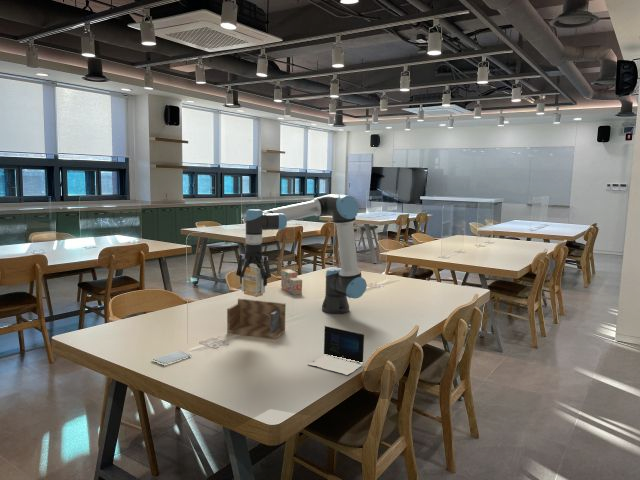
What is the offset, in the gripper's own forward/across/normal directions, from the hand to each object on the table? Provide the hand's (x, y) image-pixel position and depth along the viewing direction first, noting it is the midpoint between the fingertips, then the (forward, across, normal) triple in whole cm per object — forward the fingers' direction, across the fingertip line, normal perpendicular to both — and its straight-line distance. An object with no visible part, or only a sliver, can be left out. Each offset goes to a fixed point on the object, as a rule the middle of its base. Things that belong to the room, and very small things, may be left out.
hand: (253, 291), depth 218 cm
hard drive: (+20, -16, -41) cm, 48 cm away
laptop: (+20, +46, -25) cm, 56 cm away
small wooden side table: (+19, +1, +1) cm, 19 cm away
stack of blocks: (+20, -12, +84) cm, 87 cm away
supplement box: (+2, 0, 0) cm, 2 cm away
